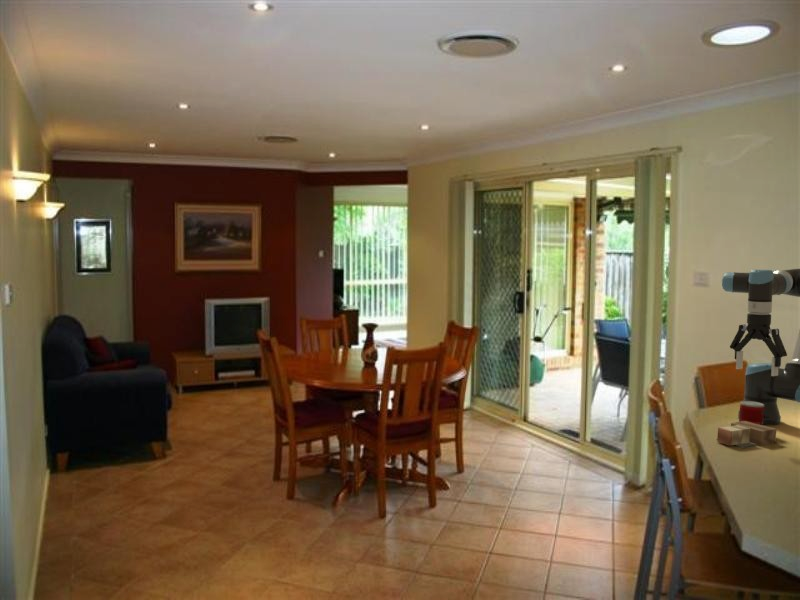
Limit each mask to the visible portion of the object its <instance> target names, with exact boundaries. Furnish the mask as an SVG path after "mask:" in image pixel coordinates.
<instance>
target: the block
mask: <svg viewBox="0 0 800 600" xmlns="http://www.w3.org/2000/svg"><path fill="white" fill-rule="evenodd" d="M716 437H717V439H716V441H717V442H718V443H720V444H722V445H723V444H724V445H727V446H734V445H736V444H743V443H749V439H750V428H746V427H743V426H739V425H735V426H731V425H729V426H721V427H717V436H716Z"/></svg>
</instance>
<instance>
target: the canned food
mask: <svg viewBox="0 0 800 600" xmlns="http://www.w3.org/2000/svg"><path fill="white" fill-rule="evenodd" d="M739 410H740V415H739V418H738V422H741V421H748V422H751V423H755V424H759V425H763V426H764V424H763V418H764V404H762V403H759V402H753V401H744V400H743V401H740V404H739Z"/></svg>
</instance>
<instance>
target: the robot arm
mask: <svg viewBox="0 0 800 600" xmlns="http://www.w3.org/2000/svg"><path fill="white" fill-rule="evenodd" d="M721 286H722V289H723V290H724V291H725V292H728V293H741V294H747V295H748V297H747V315H746V323H747V325H746V324H739V325H738V330H737V332H736V334H735V336H734V338H733V340H732V341H731V343H730V345H729V349H732V350H734V359H735V360H736V361H735V370H742V369H743V364H744V351H743V349H744V348H745V347H746V345H747V344H748V343H749V342H750V341H751V340H758V341H761V340H762V342H764V344H765V345H766V346H767V349H769V351H770V352H771V354H772V355H773V357H771V362H761V363H760V362H759V363H749V364H748V365H746V368H745V374H744V393H743V394H744V395H743V397H744V398H743V401H753V402H759V403H762V404H764V418H763V425H765V426H766V425H767V426H768V425H771V426H774V425H779V424H781V421H782V419H781V418H782V416H781V414H780V409H779V407H778V404H777V403H778V399H782V400H788V401H793V402H797V403H800V329H798V330H799V331H798V334H797V338H796V342H795V346H794V350H793V353H792V357H791V360H790V361H788V362H786V363H785V365H784V368H780V367H781V364H782V358H783V357H787V356H788V353H787V350H786V348H785V346H784V343H783V340H782V338H781V335H780V329H779V328H771V324H772V315H771V313H772V312H773V311H772V309H773V306H772V305H773V296H780V295H785V296H792V297H798V298H800V268H792V269H791V268H790V269H783V270H781V269H780V270H776V271H773V270H772V269H751V270H750V272H735V271H734V272H733V271H732V272H731V271H729V272H726V273H725V274H723V276H722V280H721ZM746 331H747V334H745V333H746ZM744 334H745V336H744ZM743 337H744V338H743ZM737 413H738V414H737V415H738V416H737V418H738V419H739V415H740V409H739V410H738V412H737Z"/></svg>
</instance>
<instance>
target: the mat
mask: <svg viewBox="0 0 800 600" xmlns="http://www.w3.org/2000/svg"><path fill="white" fill-rule="evenodd" d="M757 445H758V444H756V443H752V442H749V443H743V444H736V447H738V446H740V447H739V448H741V447H744V448H748V446H749V447H752V446H753V447H754V446H757Z"/></svg>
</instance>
